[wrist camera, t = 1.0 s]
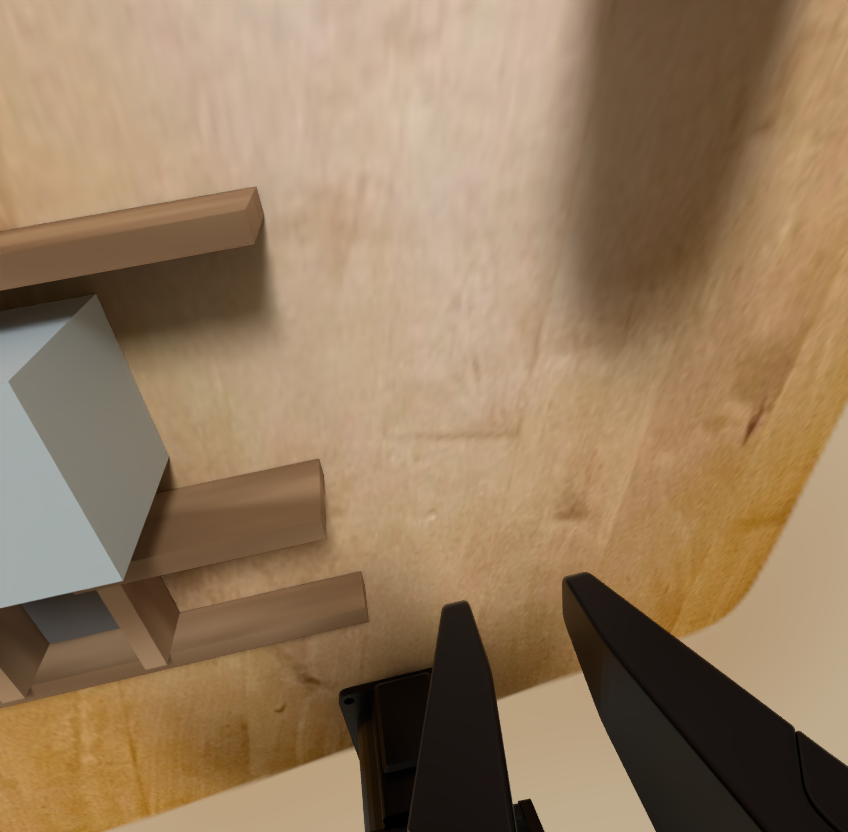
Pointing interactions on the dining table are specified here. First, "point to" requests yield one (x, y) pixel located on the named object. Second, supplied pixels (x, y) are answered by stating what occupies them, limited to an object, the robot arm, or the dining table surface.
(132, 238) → the wooden compartment tray
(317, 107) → the dining table surface
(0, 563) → the cube
